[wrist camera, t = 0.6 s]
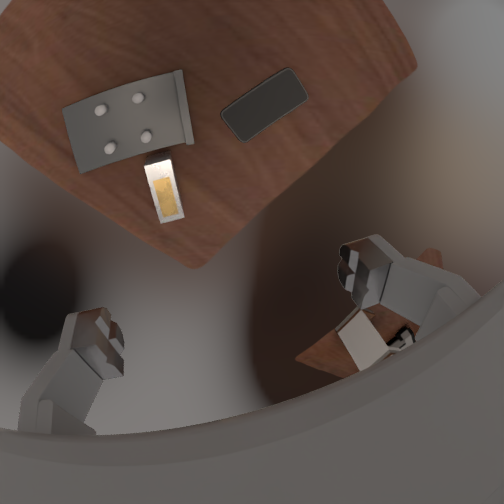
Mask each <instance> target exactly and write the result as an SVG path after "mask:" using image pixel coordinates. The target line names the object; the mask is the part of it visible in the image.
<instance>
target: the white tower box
mask: <svg viewBox="0 0 504 504" xmlns="http://www.w3.org/2000/svg"><path fill="white" fill-rule="evenodd" d="M374 316H375V314H374V313H373V311H370V310H368V309H362V310H360V308H359V307H358V306H357V307H356V308H355V309H354V310H353V311H352V312H351V313H350V314H349V315H348V316H347V317H346V318H345V319H344V321H342V322H341V323H340V324H339V325H338V326H337V327H336V328H335V330H336V331H337V333H338V335H339V336H340V338H341V340H342V341H343V343H344V345H345V346H346V348H347V350H348V351H349V353H350V355H351V356H352V358H353V360H354V361H355V363H356V365H357V366H358V368H359V370H360V371H362V370H364V369H366V368H368V367H370V366H372V365H374V364H376V363H378V362H380V361H382V360H384V359H386V358H388V357H390V356H392V355H394V354H396V353H397V352H399V351H401V350H400V349H399V348H395V347H389V346H387V345H386V343H385V342H384V340H383V339H382V337H381V336H380V335H379V333H378V332H377V330H376V329H375V327H374V326H373V325H372V323H371V322H370V320H371V319H372V318H373V317H374Z"/></svg>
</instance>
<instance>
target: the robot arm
mask: <svg viewBox="0 0 504 504" xmlns="http://www.w3.org/2000/svg"><path fill="white" fill-rule="evenodd" d="M339 255H340V256H341V258H342V260H341V261H340V263H339V264H338V276H339V280H340V282H341V284H342V286H343V287H344V288H345V289H346V290H348V291H351V292H352V295H351V298H352V299H353V300H354V302H355V303H356V304H357V306H358V307H359V308H360V310H362V309H365V308H367V307H370V306H373V305H375V304H378V303H380V304H381V305H383V306H385V307H387V308H388V309H390V310H392V311H394V312H396V313H398V314H399V315H401V316H403V317H405V318H407V319H408V320H410V321H412V322H414V323H416V324H417V325H419V326H420V328H419V330H418V332H417V334H416V337H415V339H416V341H417V342H415V343H413V344H412V345H410V346H408V347H406V348H405V349H403V350H401V351H399V352H397V353H396V354H394V355H392V356H390V357H388V358H386V359H384V360H382V361H380V362H378V363H376V364H374V365H372V366H370V367H368V368H366V369H364V370H362V371H360V372H358V373H356V374H353V375H351V376H349V377H347V378H345V379H343V380H340V381H338V382H335V383H333V384H330V385H328V386H326V387H323V388H321V389H318V390H315V391H313V392H310V393H307V394H305V395H302V396H299V397H296V398H294V399H291V400H288V401H285V402H282V403H279V404H276V405H272V406H269V407H266V408H263V409H259V410H256V411H252V412H248V413H245V414H241V415H237V416H233V417H229V418H225V419H221V420H216V421H212V422H207V423H202V424H197V425H191V426H186V427H180V428H174V429H167V430H159V431H151V432H142V433H131V434H116V435H96V431H95V430H94V429H92V428H91V427H89V426H87V425H86V424H84V421H85V418H86V416H87V414H88V412H89V410H90V408H91V405H92V403H93V401H94V399H95V397H96V395H97V393H98V391H99V389H100V387H101V385H102V383H103V380H105V379H111V378H117V377H122V376H124V360H123V358H122V357H121V356H120V355H121V353H122V351H123V350H124V339H123V334H122V332H121V329H120V327H119V326H118V324H117V323H115V322H113V321H111V314H110V312H109V311H108V309H107V308H105V307H101V308H96V309H92V310H86V311H82V312H78V313H74V314H69V315H68V316H67V317H66V320H65V323H64V328H63V331H62V336H61V340H60V344H59V349H58V352H54V354H53V355H52V356H51V358H50V359H49V360H48V362H47V363H46V364H45V366H44V367H43V368H42V370H41V371H40V373H39V374H38V375H37V377H36V378H35V380H34V381H33V382H32V384H31V385H30V387H29V388H28V390H27V391H26V393H25V394H24V396H23V397H22V399H21V407H20V413H19V421H18V431H17V430H10V429H4V428H0V504H504V279H503V280H502V281H501V282H500V283H498V284H497V285H496V286H495V287H494V288H492V289H491V290H490V291H489V292H488V293H486V294H485V295H484V296H483V297H481V296H480V295H479V294H478V293H477V292H476V291H475V290H474V289H473V288H472V287H471V286H470V285H469V284H468V283H467V282H466V281H465V280H464V279H463V278H462V277H461V276H459V275H456V274H453V273H451V272H448V271H445V270H443V269H440V268H437V267H434V266H432V265H429V264H426V263H423V262H420V261H418V260H415V259H412V258H409V257H407V258H404V257H403V256H402V255H401V254H400V253H399V252H398V251H397V250H396V249H394V248H393V247H392V246H391V245H390V244H389V243H388V242H387V241H386V240H384V239H383V238H382V237H381V236H380V235H377V234H375V235H372V236H369V237H366V238H364V239H361V240H357V241H353V242H350V243H347V244H344V245H342V246H341V248H340V252H339Z"/></svg>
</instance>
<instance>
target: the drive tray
mask: <svg viewBox="0 0 504 504" xmlns="http://www.w3.org/2000/svg"><path fill="white" fill-rule="evenodd" d="M62 112H63V116H64V120H65V124H66V128H67V132H68V136H69V139H70V143H71V147H72V150H73V153H74V157H75V160H76V163H77V166H78V169H79V172H80V174H82V173H85V172H87V171H90V170H93V169H96V168H98V167H101V166H104V165H107V164H110V163H113V162H116V161H119V160H122V159H125V158H129V157H132V156H135V155H139V154H142V153H146V152H149V151H153V150H156V149H160V148H164V147H168V146H172V145H176V144H180V143H184V142H186V144H187V145H190V144H194V138H193V133H192V127H191V121H190V115H189V110H188V104H187V97H186V91H185V85H184V79H183V72H182V69H181V70H177V71H174V72H171V73H167V74H162V75H158V76H154V77H150V78H147V79H143V80H139V81H136V82H132V83H129V84H126V85H123V86H119V87H116V88H113V89H110V90H108V91H105V92H102V93H99V94H97V95H94V96H91V97H89V98H86V99H84V100H81V101H79V102H76V103H74V104H72V105H70V106H67V107H65V108H63V109H62Z"/></svg>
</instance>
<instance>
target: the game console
mask: <svg viewBox="0 0 504 504" xmlns="http://www.w3.org/2000/svg"><path fill="white" fill-rule="evenodd" d="M396 337H397V340H396V341H394V342H393V343H392V344H390V345H389V347H395V348H399V349H400V350H403V349H405V348H406V347H408V346H410V345H412V344H413V343H415V337H414V333H413V332H412V330H411V329H410V328H408V329H407V328H406V327H405V328H404V329H402V330H401V331H400V332H399V333H397V334H396Z"/></svg>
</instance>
